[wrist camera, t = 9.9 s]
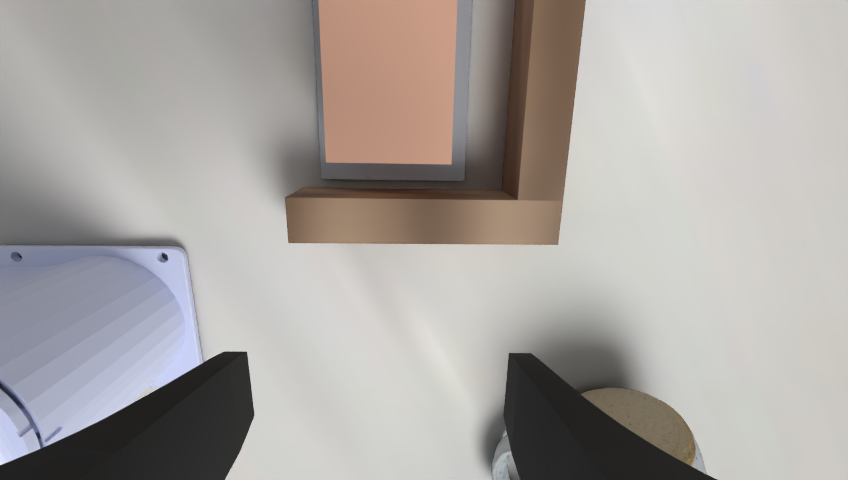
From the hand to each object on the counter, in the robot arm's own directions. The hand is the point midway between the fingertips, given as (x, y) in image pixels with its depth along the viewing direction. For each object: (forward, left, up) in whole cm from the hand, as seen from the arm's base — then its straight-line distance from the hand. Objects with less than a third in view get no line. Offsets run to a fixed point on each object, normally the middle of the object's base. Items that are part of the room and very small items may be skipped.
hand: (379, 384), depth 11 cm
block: (0, +10, -10) cm, 14 cm away
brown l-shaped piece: (+2, +10, -10) cm, 14 cm away
